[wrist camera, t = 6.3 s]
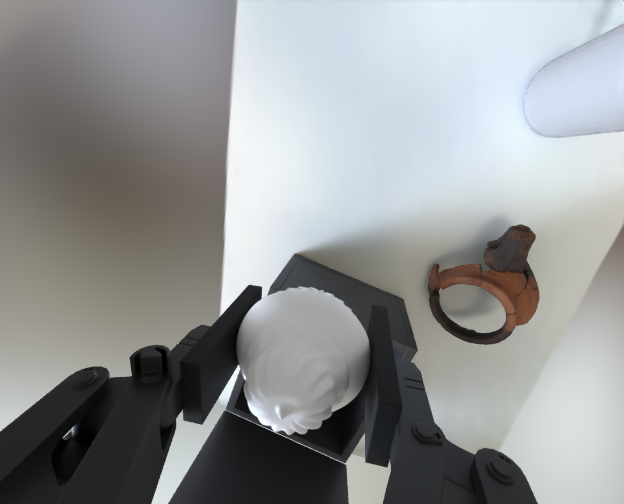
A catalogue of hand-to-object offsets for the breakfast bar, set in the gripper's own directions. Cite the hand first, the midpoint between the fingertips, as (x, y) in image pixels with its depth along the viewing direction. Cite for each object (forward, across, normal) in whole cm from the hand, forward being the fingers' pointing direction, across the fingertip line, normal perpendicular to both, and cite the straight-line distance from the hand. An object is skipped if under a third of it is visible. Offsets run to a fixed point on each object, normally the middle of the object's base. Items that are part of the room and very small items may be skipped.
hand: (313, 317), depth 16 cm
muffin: (+1, 0, 0) cm, 1 cm away
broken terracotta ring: (+17, +15, -1) cm, 23 cm away
